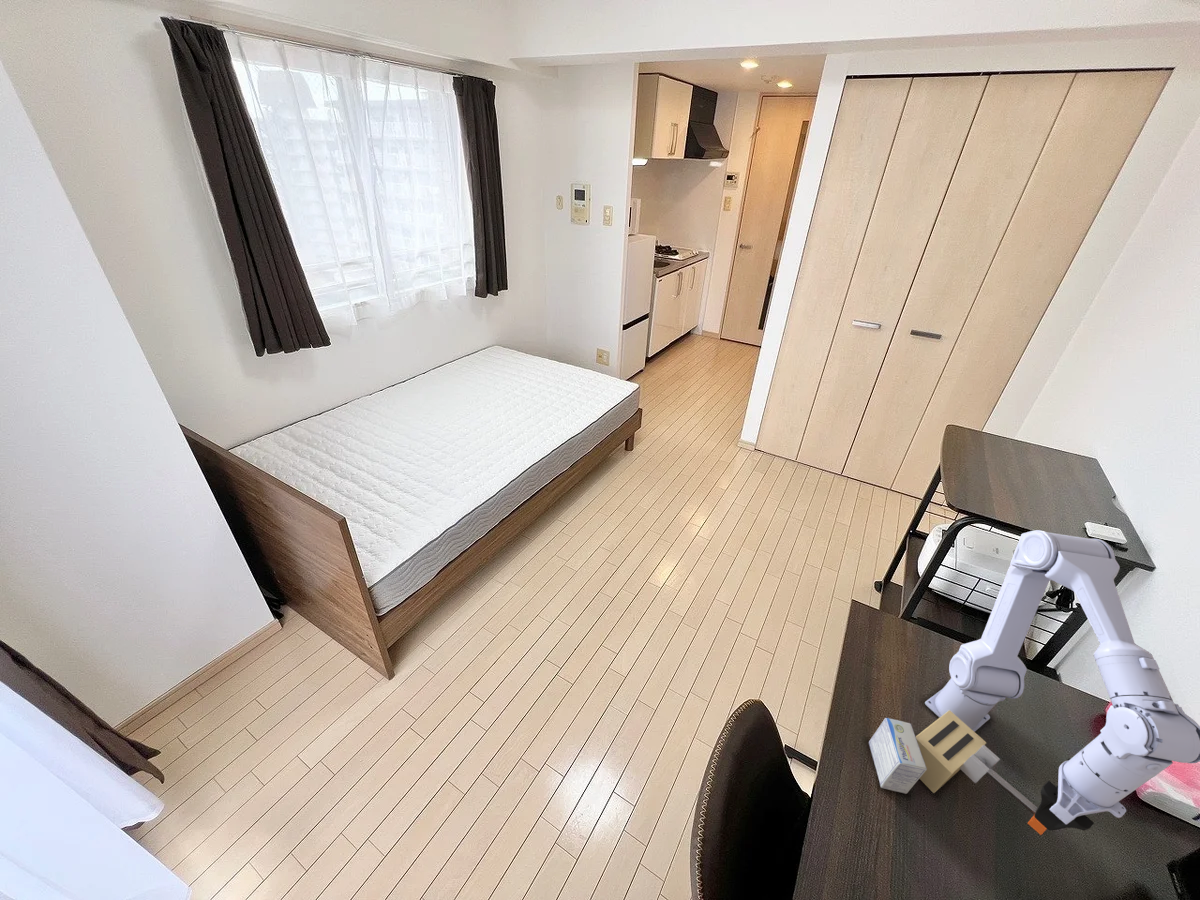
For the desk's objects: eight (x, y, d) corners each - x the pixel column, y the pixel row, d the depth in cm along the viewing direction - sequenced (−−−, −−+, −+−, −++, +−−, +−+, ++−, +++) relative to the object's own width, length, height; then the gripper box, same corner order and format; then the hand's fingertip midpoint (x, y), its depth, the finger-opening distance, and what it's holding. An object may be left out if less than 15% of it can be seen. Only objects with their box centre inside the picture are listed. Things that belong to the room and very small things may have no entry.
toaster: (932, 730, 92) (955, 702, 87) (982, 776, 86) (1010, 749, 81) (898, 757, 87) (920, 729, 82) (948, 809, 81) (976, 782, 76)
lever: (980, 757, 82) (985, 750, 81) (1054, 819, 74) (1060, 813, 73) (966, 770, 80) (970, 764, 79) (1041, 835, 72) (1046, 829, 71)
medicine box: (906, 795, 82) (928, 770, 78) (879, 788, 83) (899, 763, 78) (892, 747, 89) (912, 722, 84) (867, 741, 89) (885, 716, 85)
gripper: (1125, 828, 59) (1060, 870, 66) (1166, 770, 65) (1103, 814, 73) (1058, 772, 64) (1005, 817, 71) (1102, 723, 70) (1049, 769, 78)
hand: (1051, 812), depth 72 cm, fingers open, 5 cm apart
